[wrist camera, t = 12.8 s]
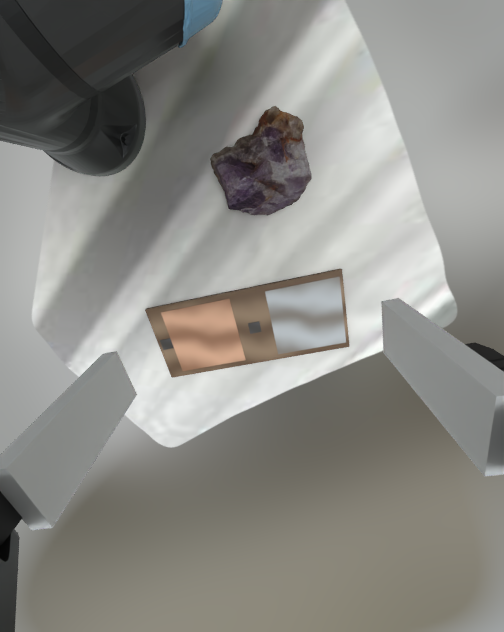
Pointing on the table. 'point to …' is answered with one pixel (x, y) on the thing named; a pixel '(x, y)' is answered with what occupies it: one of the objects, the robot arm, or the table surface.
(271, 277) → the table surface
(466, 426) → the robot arm
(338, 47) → the table surface
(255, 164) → the rock
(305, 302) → the board
